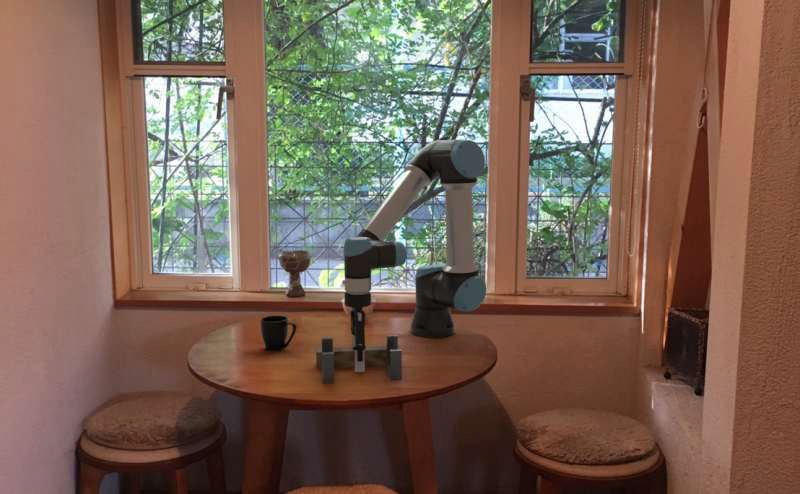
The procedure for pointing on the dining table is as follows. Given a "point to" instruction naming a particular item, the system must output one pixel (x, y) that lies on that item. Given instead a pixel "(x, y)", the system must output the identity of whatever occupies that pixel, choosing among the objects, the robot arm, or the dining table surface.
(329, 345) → the bracket
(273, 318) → the mug
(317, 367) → the rail
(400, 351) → the bracket
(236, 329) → the dining table surface
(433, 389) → the dining table surface
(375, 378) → the dining table surface
